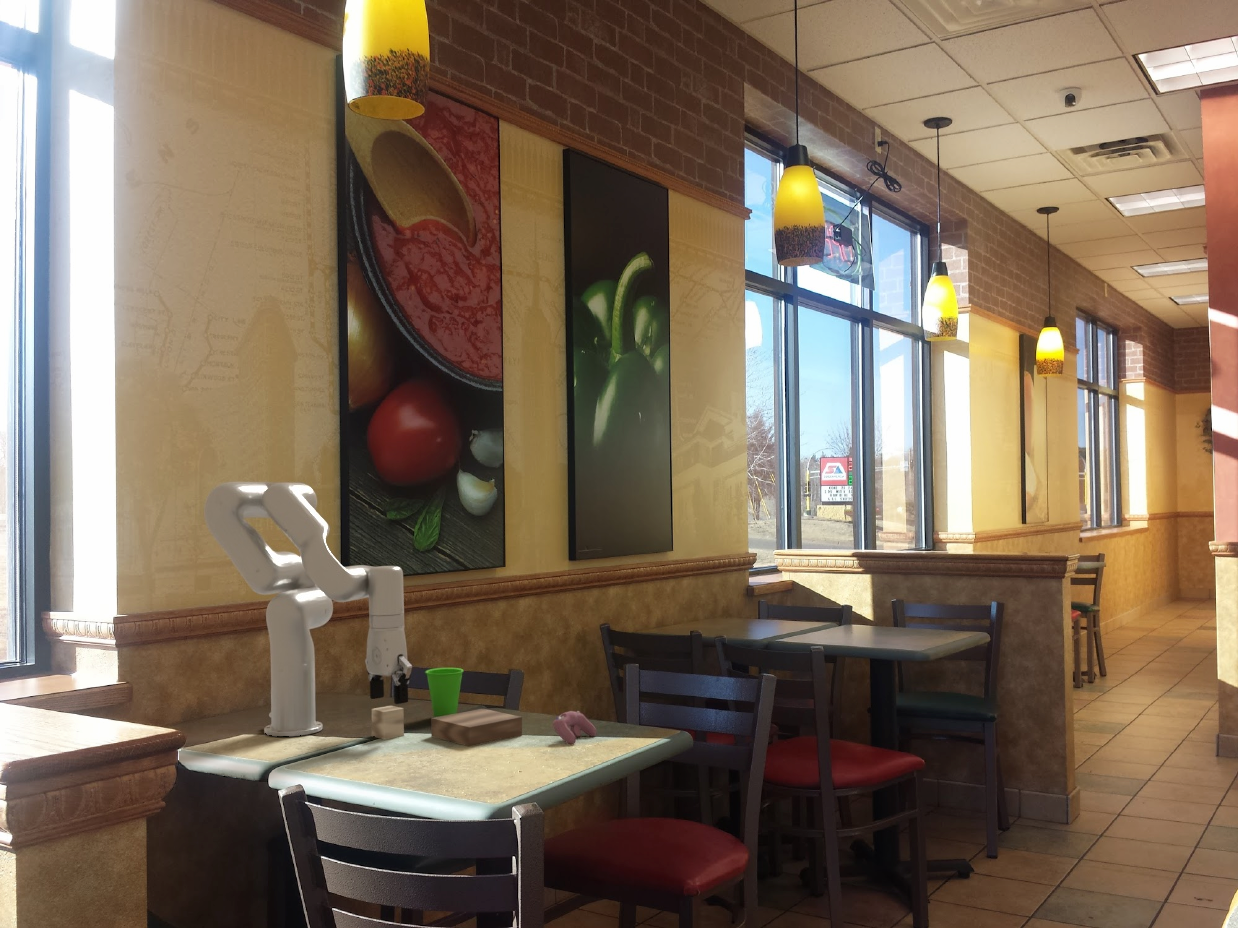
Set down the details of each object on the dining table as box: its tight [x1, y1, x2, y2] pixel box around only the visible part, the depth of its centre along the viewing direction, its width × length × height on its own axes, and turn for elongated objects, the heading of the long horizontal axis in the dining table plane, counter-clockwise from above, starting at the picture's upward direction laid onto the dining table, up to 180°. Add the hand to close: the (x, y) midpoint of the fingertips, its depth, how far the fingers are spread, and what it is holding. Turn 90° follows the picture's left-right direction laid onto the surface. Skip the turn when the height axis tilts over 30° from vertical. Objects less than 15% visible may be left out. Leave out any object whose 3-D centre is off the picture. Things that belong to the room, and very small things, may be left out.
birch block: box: [371, 705, 405, 740], centre depth 242 cm, size 5×5×6 cm
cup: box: [424, 667, 464, 718], centre depth 261 cm, size 9×9×11 cm
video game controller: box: [552, 710, 597, 745], centre depth 236 cm, size 10×5×7 cm, turn 149°
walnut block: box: [430, 708, 523, 748], centre depth 240 cm, size 14×14×4 cm
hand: (389, 700), depth 242 cm, fingers open, 9 cm apart
